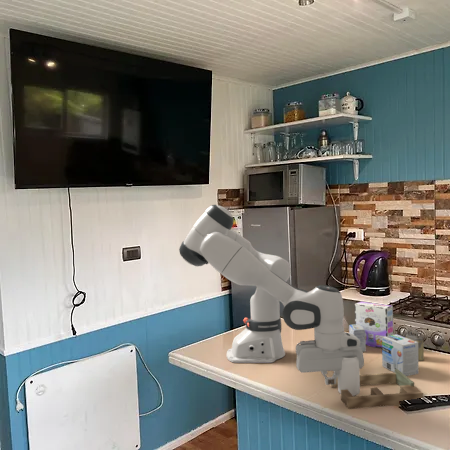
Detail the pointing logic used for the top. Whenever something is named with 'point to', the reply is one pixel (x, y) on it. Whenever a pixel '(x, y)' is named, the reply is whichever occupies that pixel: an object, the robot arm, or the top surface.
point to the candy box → (374, 321)
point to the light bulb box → (400, 354)
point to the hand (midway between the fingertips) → (330, 383)
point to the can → (349, 376)
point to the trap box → (377, 396)
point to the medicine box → (358, 334)
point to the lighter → (420, 342)
